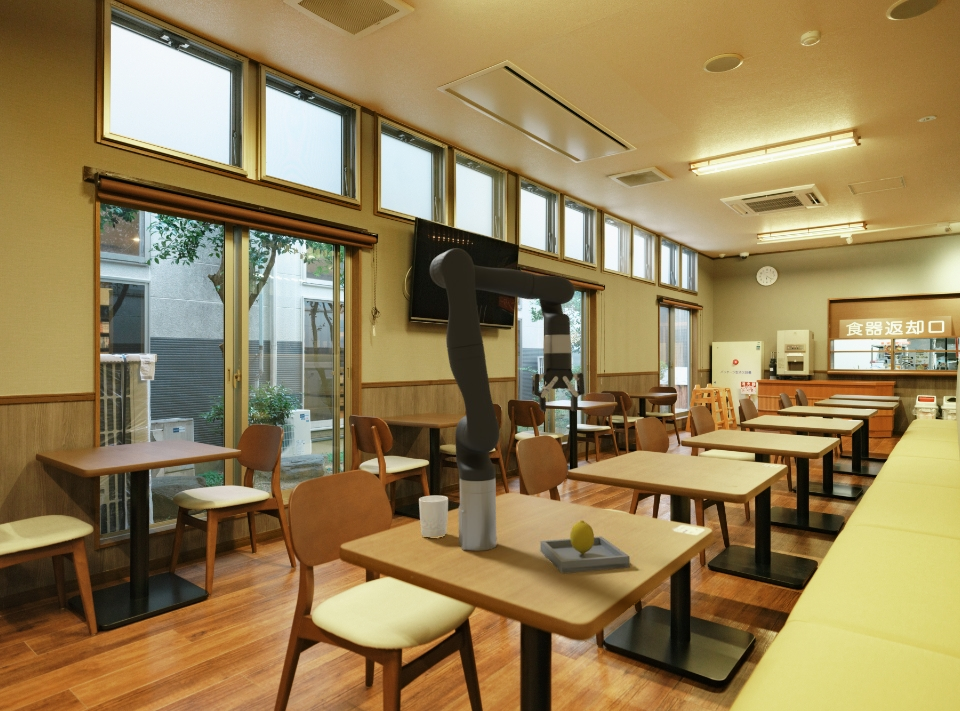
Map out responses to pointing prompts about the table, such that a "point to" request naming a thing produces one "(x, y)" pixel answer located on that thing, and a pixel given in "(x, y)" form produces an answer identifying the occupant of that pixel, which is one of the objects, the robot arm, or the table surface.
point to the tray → (584, 556)
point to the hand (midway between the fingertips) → (558, 411)
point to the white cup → (433, 515)
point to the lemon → (582, 537)
